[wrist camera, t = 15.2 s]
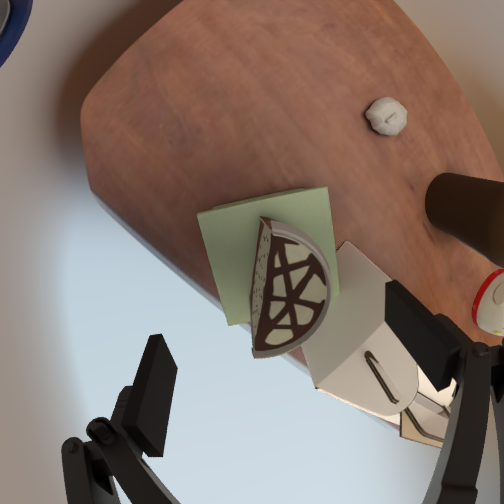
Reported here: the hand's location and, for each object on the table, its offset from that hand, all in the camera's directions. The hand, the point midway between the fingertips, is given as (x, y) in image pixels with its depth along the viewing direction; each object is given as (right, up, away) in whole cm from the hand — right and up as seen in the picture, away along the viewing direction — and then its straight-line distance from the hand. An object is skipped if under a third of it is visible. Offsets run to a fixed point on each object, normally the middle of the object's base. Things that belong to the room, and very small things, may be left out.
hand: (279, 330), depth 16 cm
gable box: (+16, -5, +29) cm, 34 cm away
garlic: (+16, +23, +19) cm, 34 cm away
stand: (+1, +6, +24) cm, 25 cm away
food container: (+2, +3, +17) cm, 17 cm away
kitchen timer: (+51, -6, +32) cm, 61 cm away
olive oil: (+30, +13, +24) cm, 40 cm away
